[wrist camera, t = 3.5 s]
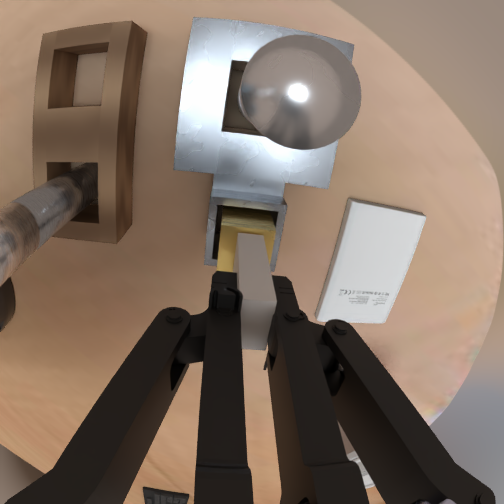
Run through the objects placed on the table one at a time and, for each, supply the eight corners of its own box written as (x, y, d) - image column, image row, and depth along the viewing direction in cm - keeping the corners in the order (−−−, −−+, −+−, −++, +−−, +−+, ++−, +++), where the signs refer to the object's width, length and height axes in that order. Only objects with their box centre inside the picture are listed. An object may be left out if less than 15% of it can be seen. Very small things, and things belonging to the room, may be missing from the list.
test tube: (77, 195, 24) (-44, 299, 9) (77, 160, 22) (-62, 239, 8) (109, 198, 24) (-5, 311, 10) (109, 161, 23) (-24, 246, 8)
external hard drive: (419, 211, 27) (380, 315, 32) (346, 195, 26) (313, 312, 31) (428, 217, 25) (386, 324, 31) (352, 201, 24) (317, 322, 30)
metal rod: (234, 118, 22) (232, 140, 8) (240, 79, 20) (250, 24, 6) (275, 124, 22) (349, 159, 8) (282, 85, 21) (368, 52, 7)
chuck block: (179, 233, 26) (169, 261, 21) (201, 34, 19) (193, 17, 14) (295, 245, 27) (307, 274, 22) (331, 54, 20) (354, 44, 15)
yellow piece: (219, 234, 24) (216, 272, 19) (224, 195, 23) (221, 224, 18) (259, 238, 25) (267, 277, 19) (266, 200, 23) (276, 231, 18)
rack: (132, 224, 25) (117, 243, 22) (60, 217, 24) (39, 235, 21) (147, 32, 18) (131, 20, 14) (67, 40, 17) (42, 34, 14)
